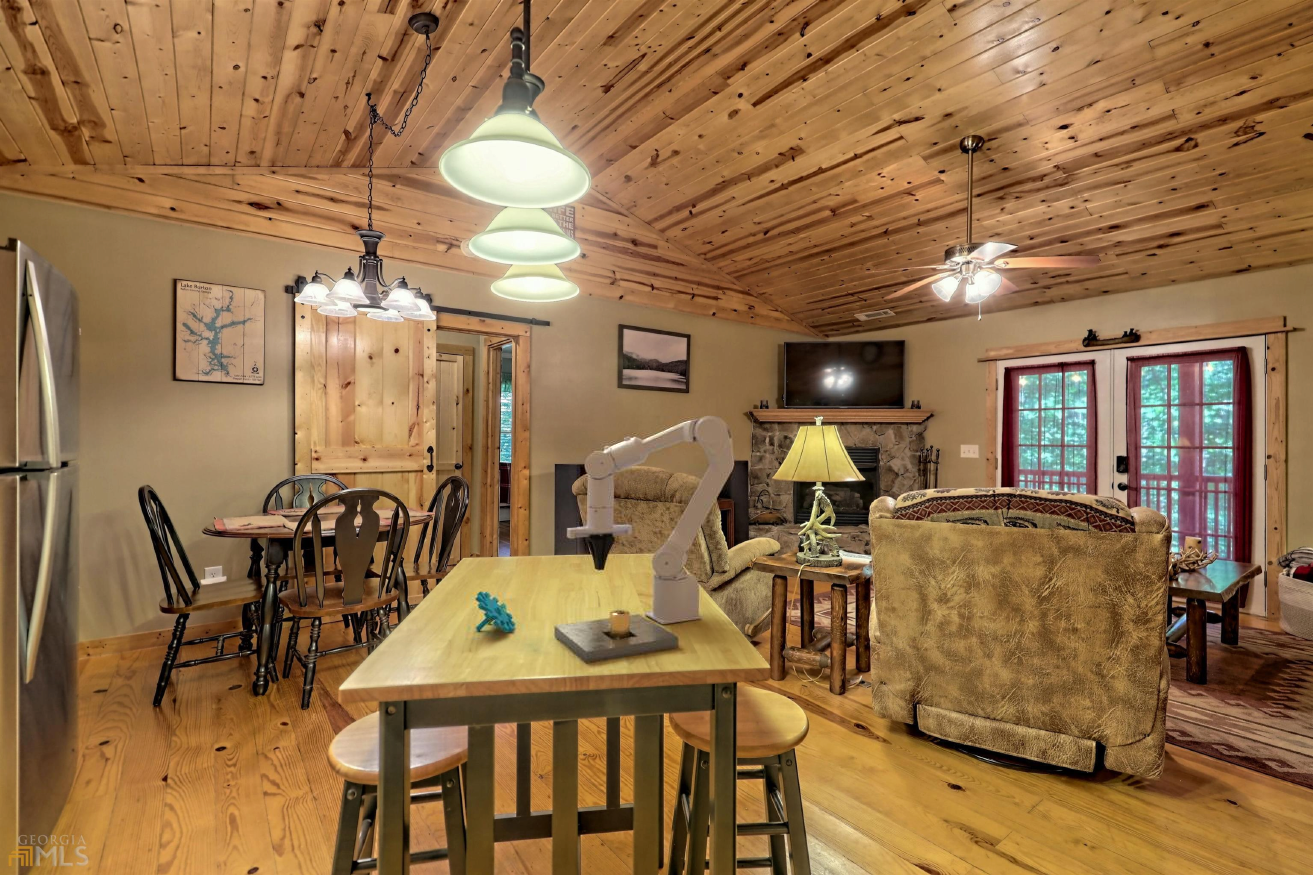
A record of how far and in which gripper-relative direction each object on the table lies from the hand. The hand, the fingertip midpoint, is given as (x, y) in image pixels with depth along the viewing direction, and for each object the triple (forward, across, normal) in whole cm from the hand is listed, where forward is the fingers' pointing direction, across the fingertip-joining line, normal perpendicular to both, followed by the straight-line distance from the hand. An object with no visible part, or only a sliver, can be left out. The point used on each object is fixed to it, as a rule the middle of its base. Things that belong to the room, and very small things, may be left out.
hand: (599, 569), depth 137 cm
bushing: (+9, +5, +21) cm, 23 cm away
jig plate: (+9, +5, +19) cm, 22 cm away
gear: (+10, +23, +2) cm, 25 cm away
